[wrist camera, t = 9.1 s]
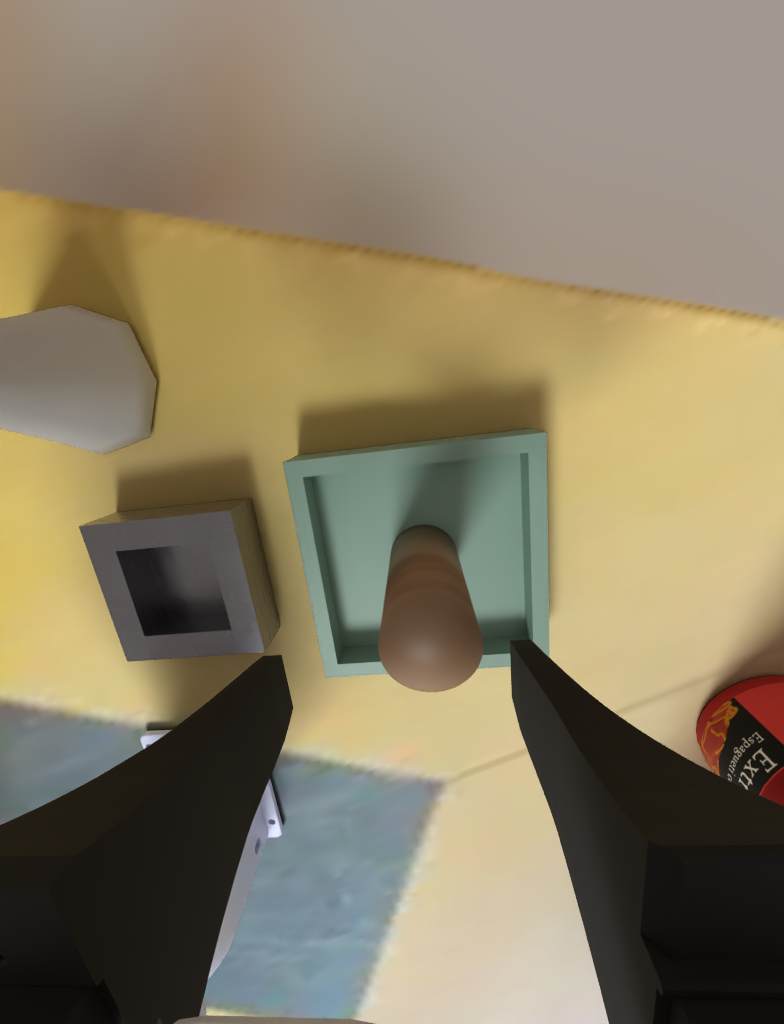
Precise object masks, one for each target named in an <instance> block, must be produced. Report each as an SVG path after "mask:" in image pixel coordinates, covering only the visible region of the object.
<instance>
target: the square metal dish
mask: <svg viewBox="0 0 784 1024" xmlns="http://www.w3.org/2000/svg"><path fill="white" fill-rule="evenodd" d="M79 528H80V531H81V534H82V536H83V539H84V542H85V545H86V548H87V550H88V553H89V556H90V559H91V561H92V564H93V567H94V570H95V573H96V575H97V578H98V581H99V584H100V587H101V589H102V592H103V595H104V598H105V600H106V603H107V606H108V609H109V612H110V614H111V617H112V620H113V623H114V626H115V628H116V631H117V634H118V637H119V639H120V642H121V645H122V648H123V651H124V653H125V656H126V659H127V661H142V660H157V659H172V658H187V657H202V656H217V655H231V654H246V653H261V652H265V651H266V649H267V647H268V646H269V644H270V643H271V641H272V639H273V638H274V636H275V634H276V633H277V631H278V629H279V628H280V623H279V618H278V614H277V610H276V605H275V601H274V596H273V592H272V588H271V583H270V579H269V574H268V570H267V565H266V561H265V557H264V552H263V548H262V543H261V539H260V535H259V530H258V526H257V521H256V517H255V513H254V508H253V504H252V499H251V498H247V499H238V500H228V501H219V502H210V503H200V504H191V505H181V506H172V507H163V508H153V509H144V510H134V511H125V512H116V513H113V514H110V515H108V516H105V517H103V518H100V519H97V520H95V521H92V522H89V523H87V524H84V525H81V526H79Z"/></svg>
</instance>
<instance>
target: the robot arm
mask: <svg viewBox="0 0 784 1024" xmlns="http://www.w3.org/2000/svg"><path fill="white" fill-rule="evenodd" d="M510 658H511V684H512V699H513V703H514V707H515V711H516V715H517V719H518V722H519V726H520V730H521V733H522V736H523V738H524V741H525V744H526V746H527V749H528V752H529V754H530V757H531V760H532V762H533V765H534V768H535V770H536V773H537V776H538V778H539V781H540V784H541V786H542V789H543V791H544V794H545V797H546V799H547V802H548V805H549V807H550V810H551V813H552V816H553V819H554V822H555V825H556V828H557V831H558V835H559V838H560V842H561V845H562V849H563V852H564V856H565V859H566V863H567V866H568V870H569V873H570V877H571V881H572V884H573V888H574V892H575V895H576V899H577V902H578V906H579V910H580V913H581V917H582V921H583V924H584V928H585V932H586V936H587V940H588V943H589V947H590V951H591V955H592V959H593V962H594V966H595V970H596V974H597V978H598V981H599V985H600V989H601V993H602V997H603V1001H604V1005H605V1009H606V1013H607V1017H608V1021H609V1024H784V806H783V805H780V804H778V803H776V802H774V801H771V800H769V799H767V798H765V797H762V796H760V795H758V794H756V793H753V792H751V791H749V790H747V789H744V788H742V787H740V786H738V785H736V784H734V783H732V782H730V781H728V780H726V779H724V778H722V777H720V776H718V775H716V774H714V773H712V772H711V771H709V770H707V769H705V768H703V767H701V766H699V765H697V764H695V763H694V762H692V761H690V760H688V759H686V758H684V757H683V756H681V755H679V754H678V753H676V752H674V751H672V750H671V749H669V748H667V747H666V746H664V745H662V744H661V743H659V742H657V741H656V740H654V739H652V738H651V737H649V736H648V735H646V734H644V733H643V732H641V731H640V730H638V729H637V728H635V727H634V726H632V725H631V724H630V723H628V722H627V721H625V720H624V719H622V718H621V717H619V716H618V715H616V714H615V713H614V712H612V711H611V710H610V709H608V708H607V707H606V706H604V705H603V704H602V703H601V702H599V701H598V700H597V699H595V698H594V697H593V696H592V695H590V694H589V693H588V692H587V691H586V690H584V689H583V688H582V687H581V686H580V685H579V684H578V683H576V682H575V681H574V680H573V679H572V678H571V677H570V676H569V675H567V674H566V673H565V672H564V671H563V670H562V669H561V668H560V667H559V666H558V665H557V664H556V663H554V662H553V661H552V660H551V659H550V658H549V657H548V656H547V655H546V654H545V653H544V652H543V651H542V650H541V649H540V648H539V647H538V646H537V645H536V644H535V643H534V642H533V641H532V640H531V639H528V640H513V641H510ZM292 710H293V705H292V700H291V696H290V691H289V687H288V682H287V678H286V673H285V669H284V664H283V660H282V656H281V655H274V656H263V657H262V658H260V659H259V660H258V661H256V662H255V663H254V664H253V665H251V666H250V667H249V668H248V669H247V670H245V671H244V672H243V673H242V674H241V675H240V676H238V677H237V678H236V679H235V680H234V681H233V682H231V683H230V684H229V685H228V686H227V687H225V688H224V689H223V690H222V691H221V692H220V693H218V694H217V695H216V696H215V697H214V698H212V699H211V700H210V701H209V702H207V703H206V704H205V705H204V706H202V707H201V708H200V709H199V710H197V711H196V712H195V713H193V714H192V715H191V716H190V717H188V718H187V719H186V720H185V721H183V722H182V723H181V724H179V725H178V726H177V727H175V728H174V729H172V730H156V731H146V732H145V733H144V734H143V735H142V737H141V742H142V745H143V748H144V749H143V750H142V751H140V752H139V753H137V754H135V755H134V756H132V757H130V758H129V759H127V760H125V761H124V762H122V763H120V764H119V765H117V766H115V767H114V768H112V769H110V770H109V771H107V772H105V773H104V774H102V775H100V776H99V777H97V778H95V779H93V780H91V781H89V782H88V783H86V784H84V785H82V786H80V787H78V788H77V789H75V790H73V791H71V792H69V793H67V794H65V795H63V796H61V797H59V798H57V799H55V800H53V801H51V802H49V803H47V804H45V805H43V806H41V807H39V808H37V809H35V810H33V811H30V812H28V813H26V814H24V815H22V816H19V817H17V818H15V819H13V820H11V821H9V822H6V823H4V824H2V825H0V1024H374V1023H369V1022H363V1021H358V1020H352V1019H328V1018H287V1017H246V1016H206V1001H205V999H204V993H205V989H206V985H207V981H208V979H209V978H210V976H211V975H212V974H213V973H214V971H215V970H216V969H217V967H218V966H219V965H220V963H221V961H222V960H223V958H224V957H225V955H226V953H227V951H228V949H229V947H230V945H231V943H232V941H233V938H234V936H235V933H236V930H237V927H238V924H239V921H240V918H241V915H242V912H243V909H244V906H245V903H246V901H247V898H248V895H249V892H250V889H251V886H252V883H253V880H254V877H255V874H256V871H257V868H258V865H259V862H260V859H261V857H262V854H263V851H264V848H265V845H266V842H267V839H268V837H279V836H280V835H281V834H282V831H283V825H282V821H281V817H280V814H279V810H278V806H277V802H276V799H275V795H274V791H273V787H272V784H271V780H270V777H271V774H272V772H273V769H274V767H275V764H276V761H277V759H278V756H279V754H280V751H281V749H282V746H283V743H284V741H285V737H286V734H287V730H288V726H289V723H290V718H291V714H292Z"/></svg>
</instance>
